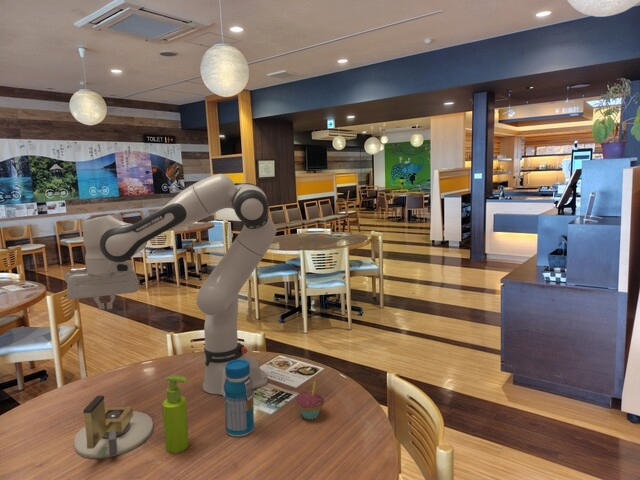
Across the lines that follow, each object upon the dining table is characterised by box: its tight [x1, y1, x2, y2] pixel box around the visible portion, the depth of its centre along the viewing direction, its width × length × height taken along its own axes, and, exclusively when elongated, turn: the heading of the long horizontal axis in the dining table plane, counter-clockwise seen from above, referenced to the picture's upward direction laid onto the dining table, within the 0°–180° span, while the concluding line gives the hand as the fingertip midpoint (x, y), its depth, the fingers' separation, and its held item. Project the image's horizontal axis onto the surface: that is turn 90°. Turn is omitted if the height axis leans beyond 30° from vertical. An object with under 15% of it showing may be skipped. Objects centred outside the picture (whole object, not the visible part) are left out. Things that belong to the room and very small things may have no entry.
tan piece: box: [83, 395, 134, 449], centre depth 115 cm, size 17×8×12 cm, turn 2°
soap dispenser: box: [162, 375, 189, 454], centre depth 114 cm, size 6×7×20 cm
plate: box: [73, 411, 154, 459], centre depth 119 cm, size 20×22×6 cm
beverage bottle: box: [223, 359, 255, 438], centre depth 122 cm, size 8×8×20 cm
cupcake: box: [295, 379, 325, 420], centre depth 129 cm, size 9×8×12 cm
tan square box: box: [102, 411, 130, 439], centre depth 120 cm, size 8×8×5 cm
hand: (105, 308), depth 136 cm, fingers closed
